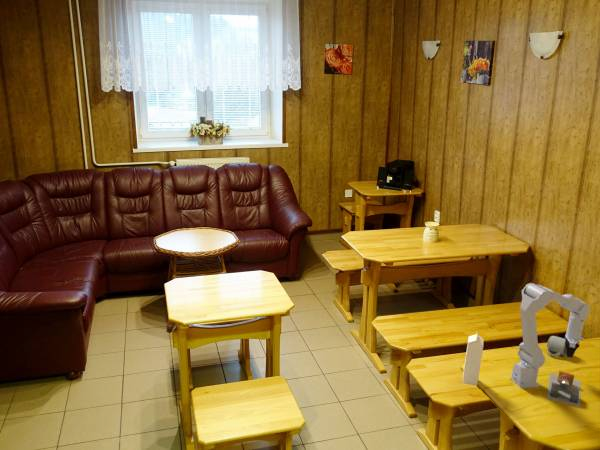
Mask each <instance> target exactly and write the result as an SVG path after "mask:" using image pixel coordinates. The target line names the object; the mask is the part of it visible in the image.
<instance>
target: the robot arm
mask: <svg viewBox="0 0 600 450" xmlns="http://www.w3.org/2000/svg"><path fill="white" fill-rule="evenodd" d="M552 301H555V302H557V303H558V304H559V306H560V307H561V308H564V309H566V310H568V311H570V313H569V319H568V324H567V327H566V333H565V335H564V339H565V345H566V355H565V356H566V357H567V358H572V359H573V356H574V355H575V353H576V351H577V349H578V348H580V344H579V343H580V341H581V342H583V341H584V340H585V338H584V337H582V334H583V329H584V324H585V321H586V319H587V316H588V315H589V314H590V313H591V312H590V311H591V308H590V306H589V304H588V303H586V302H584V301H582V300H581V298H578V297H575V296H574V295H573V294H571V293H569V294H567V293H565V294H563V295H562V294H560V293H558V292H556V291H555V290H552V289H550V288H548V287H545V286H544V285H540V284H535V283H533V282H529V283H527V284H526V285H525V286H524V287H523V289H521V303H520V309H519V310H520V320H521V321H520V322H521V329H522V331H521V333H522V342H520V344H519V345H518V346H519V347H518V351H517V355H518V357H519V362H517V363H515V364H514V365H513V366H512V372H511V377H509V378H510V380H511V381H512V382H514V383H515V384H516V385H517V386H518V387H519V388H520V389H526V388H538V387H541V385H540V384H539V383H538V382H537V381H538V380H537V379H538V374H539V369H540V368H541V367H542V366H544V364H545V362H546V357H545V356H544V353H543V349H542V348H541V347H540V346H539V342H538V329H537V318H536V317H537V316H536V313H539V312H541V311H542V310H543V309H544V308H546V306H548V305H549V303H552Z"/></svg>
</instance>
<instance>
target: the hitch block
mask: <svg viewBox="0 0 600 450" xmlns="http://www.w3.org/2000/svg"><path fill="white" fill-rule="evenodd" d="M559 391H563V392H566V393H570V402H573V403H578V398H579V390H578V389H574V388H572V386H571V385H568V384H564V383H560V384H555V383H552V386H551V392H550V396H552V397H555V398H557V397H558V392H559Z"/></svg>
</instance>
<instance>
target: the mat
mask: <svg viewBox="0 0 600 450" xmlns="http://www.w3.org/2000/svg"><path fill="white" fill-rule="evenodd" d="M558 375H559V374H554V373H551V372H550V374H549V380H548V387H547V394H546V399H548V400H551V401H555V402H558V403H562V404H565V405H568V406H572V407H577V408H579V409H580V408H581V382H582V381H581V380H578V379H574V380H573V384H572V385H571V386H572V388H574V389H578V390H579V398H578V403H573V402H570V393H566V392H563V391H559V392H558V397H557V398H555V397H552V396H550V392H551V386H552V383H555V384H560V383H561V382H558V381H557V380H558Z"/></svg>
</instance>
